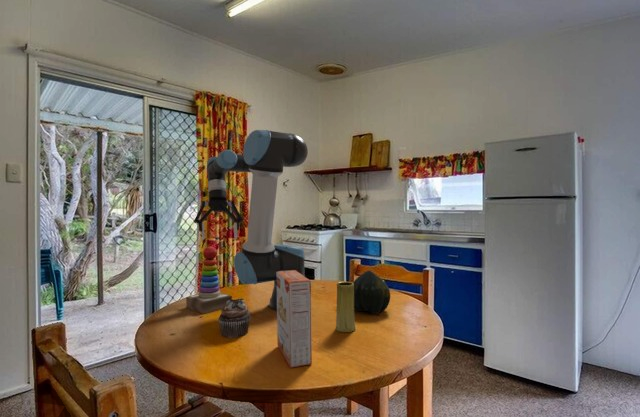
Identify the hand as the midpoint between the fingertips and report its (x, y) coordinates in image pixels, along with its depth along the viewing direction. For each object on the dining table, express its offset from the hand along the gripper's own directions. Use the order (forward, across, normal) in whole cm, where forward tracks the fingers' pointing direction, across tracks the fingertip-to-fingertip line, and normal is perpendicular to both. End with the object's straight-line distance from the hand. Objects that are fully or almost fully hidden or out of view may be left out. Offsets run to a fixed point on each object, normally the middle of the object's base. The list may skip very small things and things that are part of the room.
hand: (220, 238), depth 151 cm
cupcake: (+38, +4, +35) cm, 52 cm away
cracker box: (+46, -6, +57) cm, 73 cm away
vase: (+42, -28, +47) cm, 69 cm away
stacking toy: (+24, +6, +7) cm, 26 cm away
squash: (+38, -45, +35) cm, 68 cm away
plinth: (+28, +6, +6) cm, 29 cm away
